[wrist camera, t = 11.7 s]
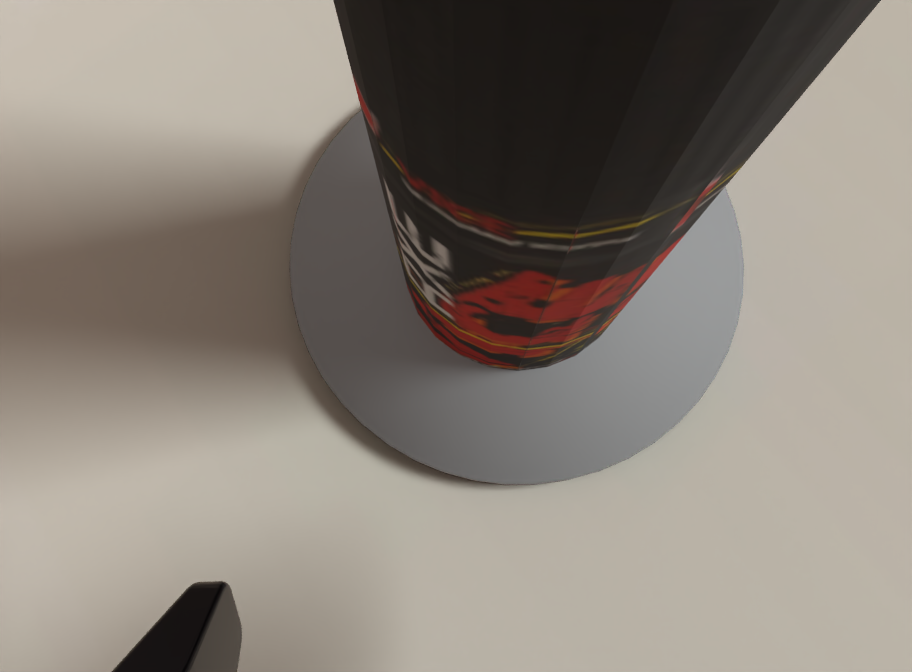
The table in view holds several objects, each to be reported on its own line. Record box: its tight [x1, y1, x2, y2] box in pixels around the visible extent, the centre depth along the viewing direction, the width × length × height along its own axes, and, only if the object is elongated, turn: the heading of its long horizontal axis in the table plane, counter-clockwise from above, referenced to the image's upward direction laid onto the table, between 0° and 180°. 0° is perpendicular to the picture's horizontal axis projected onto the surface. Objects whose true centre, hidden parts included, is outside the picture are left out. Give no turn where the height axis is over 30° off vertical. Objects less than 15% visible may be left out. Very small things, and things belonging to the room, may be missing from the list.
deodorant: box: [334, 0, 881, 371], centre depth 11 cm, size 6×6×15 cm
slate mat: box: [290, 110, 744, 485], centre depth 19 cm, size 12×12×1 cm
